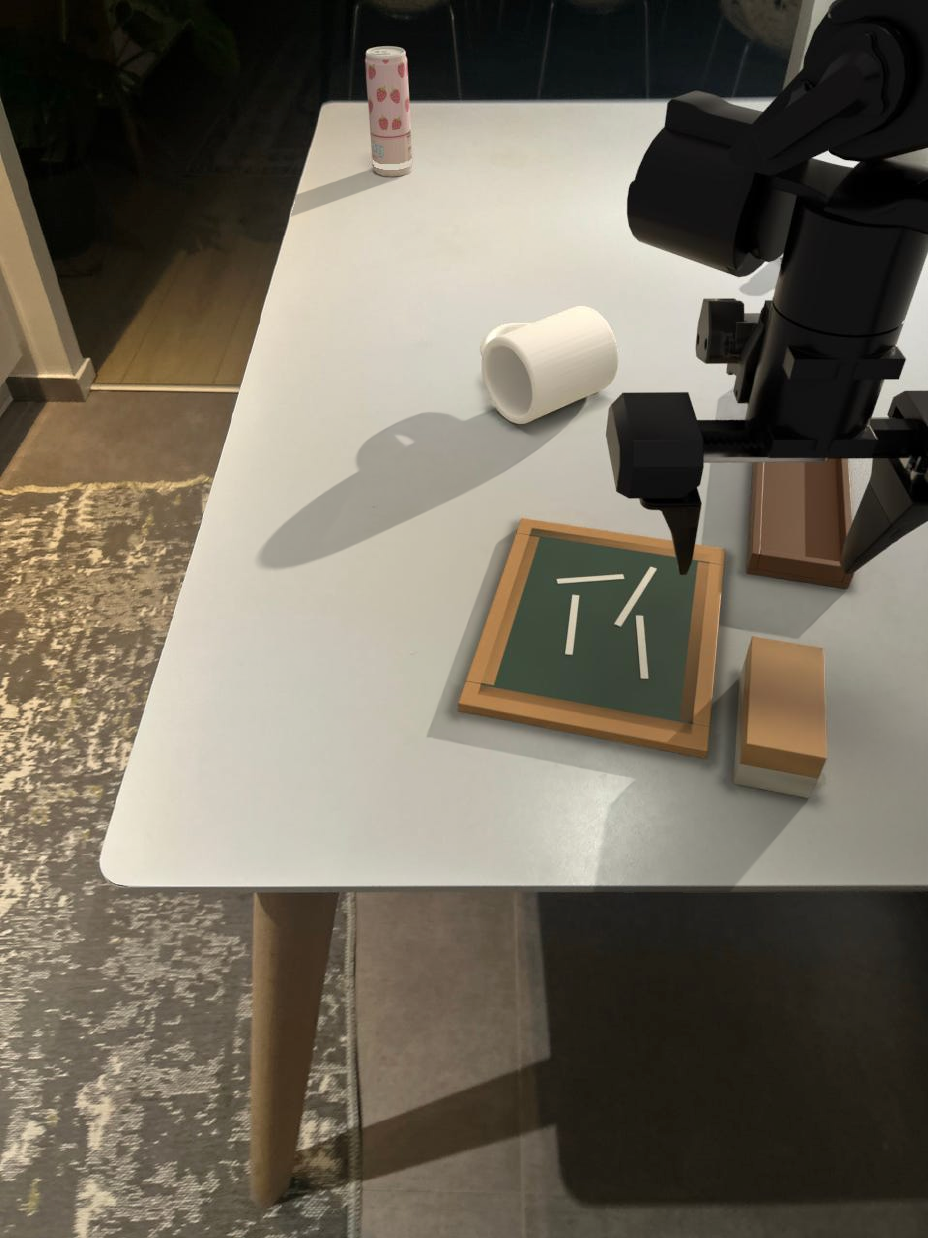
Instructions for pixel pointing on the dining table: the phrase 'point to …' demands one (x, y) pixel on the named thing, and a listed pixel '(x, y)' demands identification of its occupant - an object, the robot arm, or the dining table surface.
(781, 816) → the dining table surface
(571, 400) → the mug
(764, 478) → the chalk tray
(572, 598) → the chalkboard
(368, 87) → the beverage can
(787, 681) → the eraser
